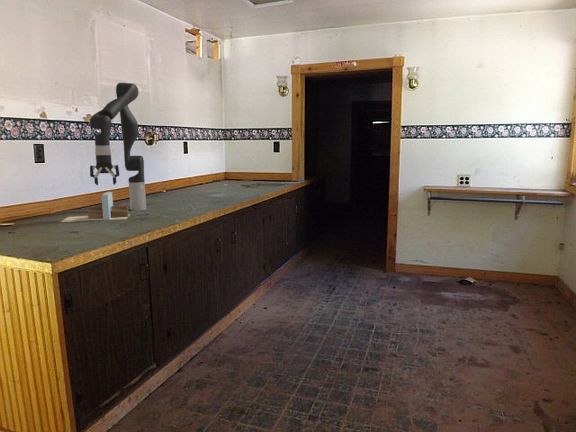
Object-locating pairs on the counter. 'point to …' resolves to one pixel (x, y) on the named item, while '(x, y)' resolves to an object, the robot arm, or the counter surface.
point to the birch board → (85, 218)
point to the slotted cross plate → (107, 205)
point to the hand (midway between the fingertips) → (105, 184)
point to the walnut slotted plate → (116, 212)
